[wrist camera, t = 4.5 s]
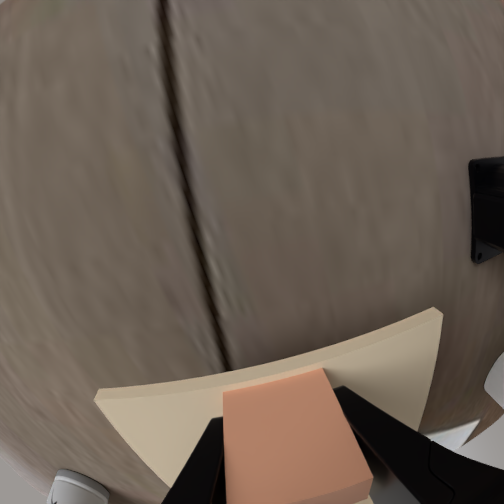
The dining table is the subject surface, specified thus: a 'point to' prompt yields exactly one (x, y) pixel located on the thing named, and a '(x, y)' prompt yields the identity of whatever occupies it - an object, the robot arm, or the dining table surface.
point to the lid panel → (284, 415)
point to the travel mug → (76, 489)
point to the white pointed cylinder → (496, 381)
